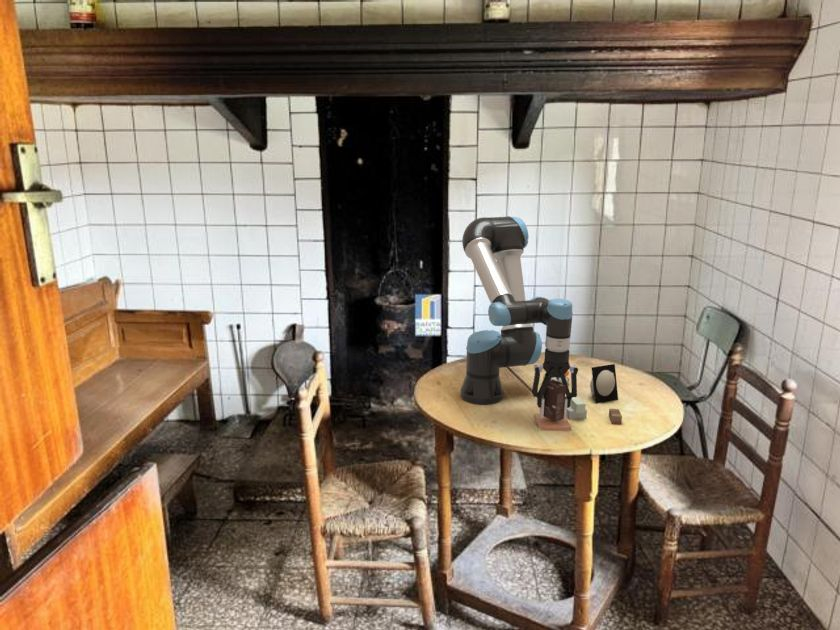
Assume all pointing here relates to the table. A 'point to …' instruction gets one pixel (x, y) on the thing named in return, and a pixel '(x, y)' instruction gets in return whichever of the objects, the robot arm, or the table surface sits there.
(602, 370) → the decorative object
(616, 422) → the walnut brick
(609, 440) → the table surface
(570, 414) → the grey brick
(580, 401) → the pale green brick
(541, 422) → the tile
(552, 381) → the box
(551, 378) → the rainbow disc rolling toy
